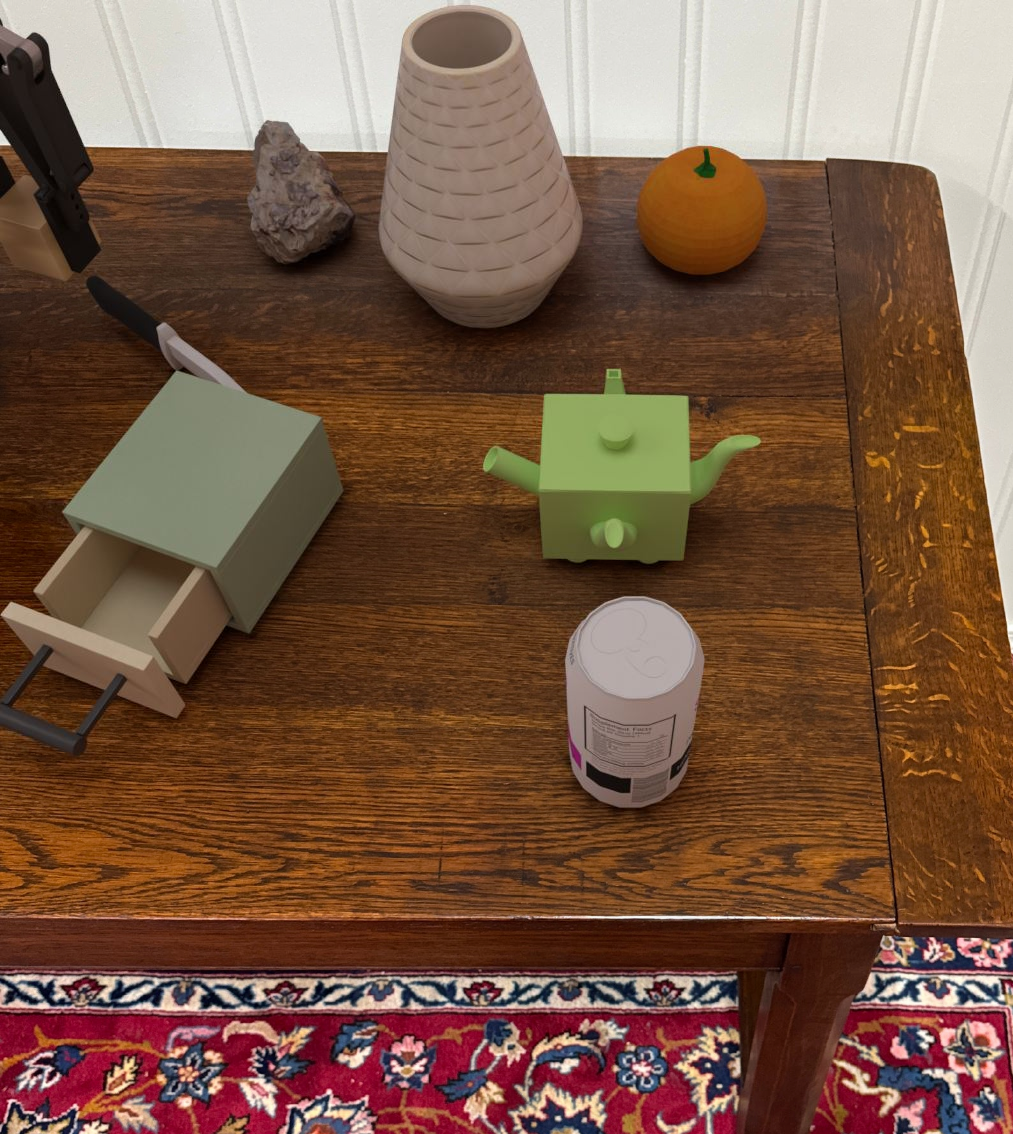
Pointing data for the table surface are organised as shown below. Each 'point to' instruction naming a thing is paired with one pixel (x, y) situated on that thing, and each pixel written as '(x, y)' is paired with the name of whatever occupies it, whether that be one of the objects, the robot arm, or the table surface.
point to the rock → (294, 197)
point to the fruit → (701, 211)
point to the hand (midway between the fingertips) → (55, 251)
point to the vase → (475, 172)
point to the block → (31, 233)
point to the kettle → (615, 474)
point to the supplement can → (632, 700)
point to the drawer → (114, 630)
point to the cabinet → (217, 487)
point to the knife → (156, 333)
